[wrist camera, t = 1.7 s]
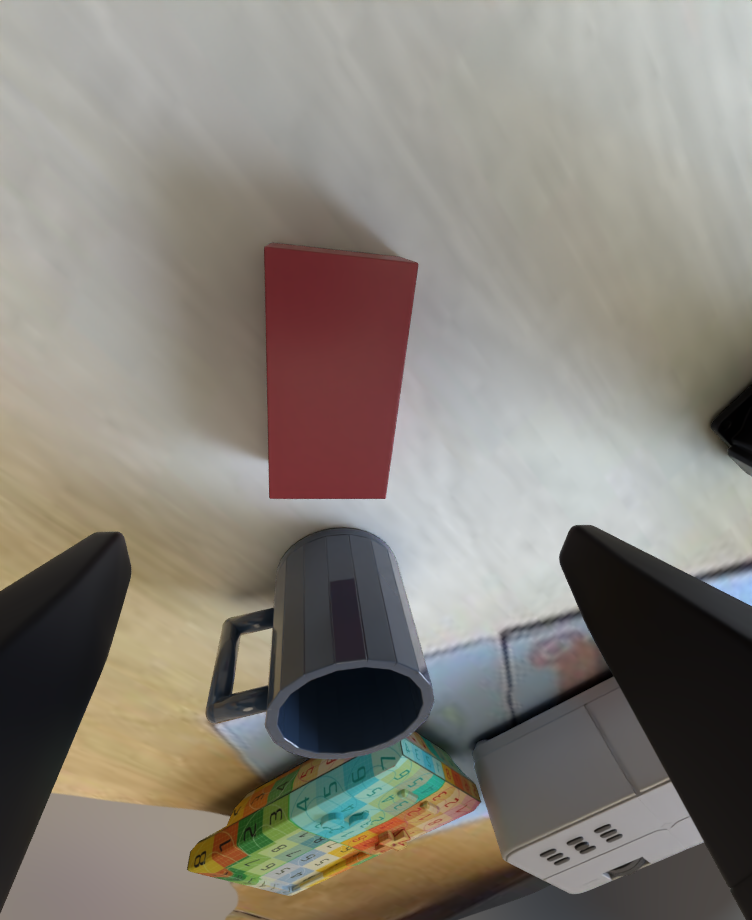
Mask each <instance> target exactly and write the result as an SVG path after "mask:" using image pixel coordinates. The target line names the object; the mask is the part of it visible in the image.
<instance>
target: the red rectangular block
mask: <svg viewBox="0 0 752 920" xmlns="http://www.w3.org/2000/svg"><path fill="white" fill-rule="evenodd" d="M264 267H265V315H266V363H267V411H268V459H269V498H270V499H385V498H386V492H387V485H388V478H389V471H390V463H391V456H392V449H393V442H394V435H395V428H396V421H397V414H398V406H399V399H400V392H401V385H402V378H403V371H404V364H405V357H406V349H407V342H408V335H409V328H410V321H411V314H412V307H413V299H414V292H415V285H416V278H417V271H418V263H416V262H413V261H411V260H408V259H405V258H402V257H397V256H388V255H379V254H370V253H361V252H352V251H343V250H334V249H325V248H316V247H307V246H298V245H289V244H280V243H270V244H268V245H267V246H265V247H264Z"/></svg>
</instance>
